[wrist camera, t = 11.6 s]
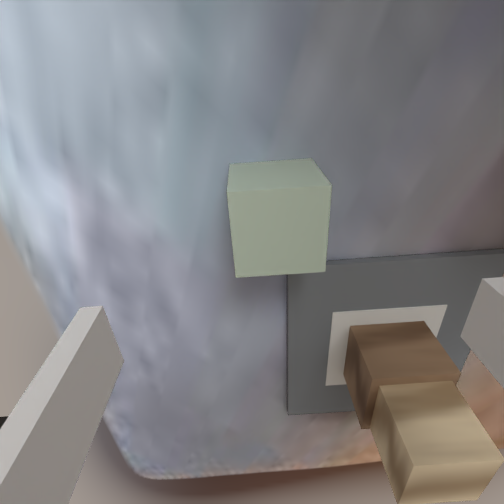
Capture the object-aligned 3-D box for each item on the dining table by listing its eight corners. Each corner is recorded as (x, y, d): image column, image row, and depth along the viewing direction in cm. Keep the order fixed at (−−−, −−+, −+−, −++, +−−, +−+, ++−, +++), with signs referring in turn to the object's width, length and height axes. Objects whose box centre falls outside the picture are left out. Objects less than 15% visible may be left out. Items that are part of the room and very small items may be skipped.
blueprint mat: (287, 263, 23) (288, 268, 22) (506, 248, 23) (513, 253, 22) (287, 409, 32) (288, 416, 32) (443, 399, 32) (446, 405, 32)
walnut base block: (350, 325, 25) (372, 379, 21) (423, 320, 25) (461, 373, 21) (343, 374, 29) (361, 429, 24) (409, 369, 28) (439, 424, 24)
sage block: (229, 163, 19) (226, 192, 15) (311, 157, 19) (331, 185, 15) (236, 235, 22) (235, 277, 17) (308, 230, 22) (325, 271, 17)
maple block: (379, 385, 22) (413, 465, 17) (452, 380, 22) (504, 459, 17) (369, 426, 24) (397, 505, 20) (435, 422, 24) (477, 500, 20)
